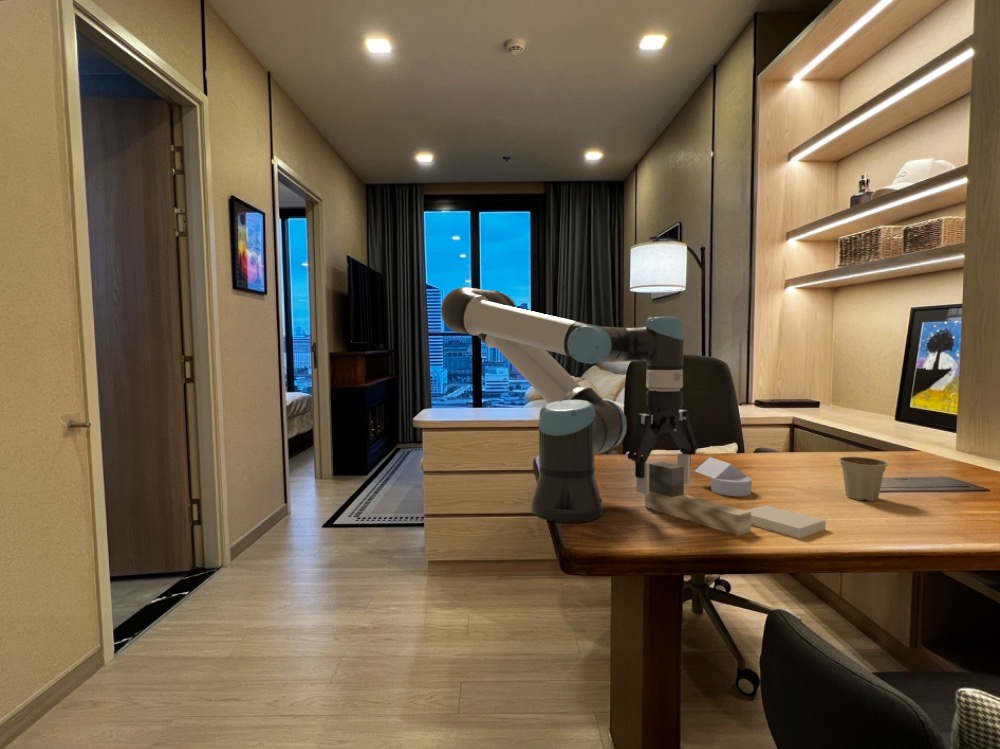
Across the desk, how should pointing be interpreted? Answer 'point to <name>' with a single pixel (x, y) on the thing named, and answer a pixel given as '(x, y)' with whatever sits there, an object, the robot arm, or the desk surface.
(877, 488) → the flower pot
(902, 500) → the desk surface
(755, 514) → the tile
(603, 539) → the desk surface
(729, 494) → the wedge on round base
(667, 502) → the bar
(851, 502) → the desk surface
